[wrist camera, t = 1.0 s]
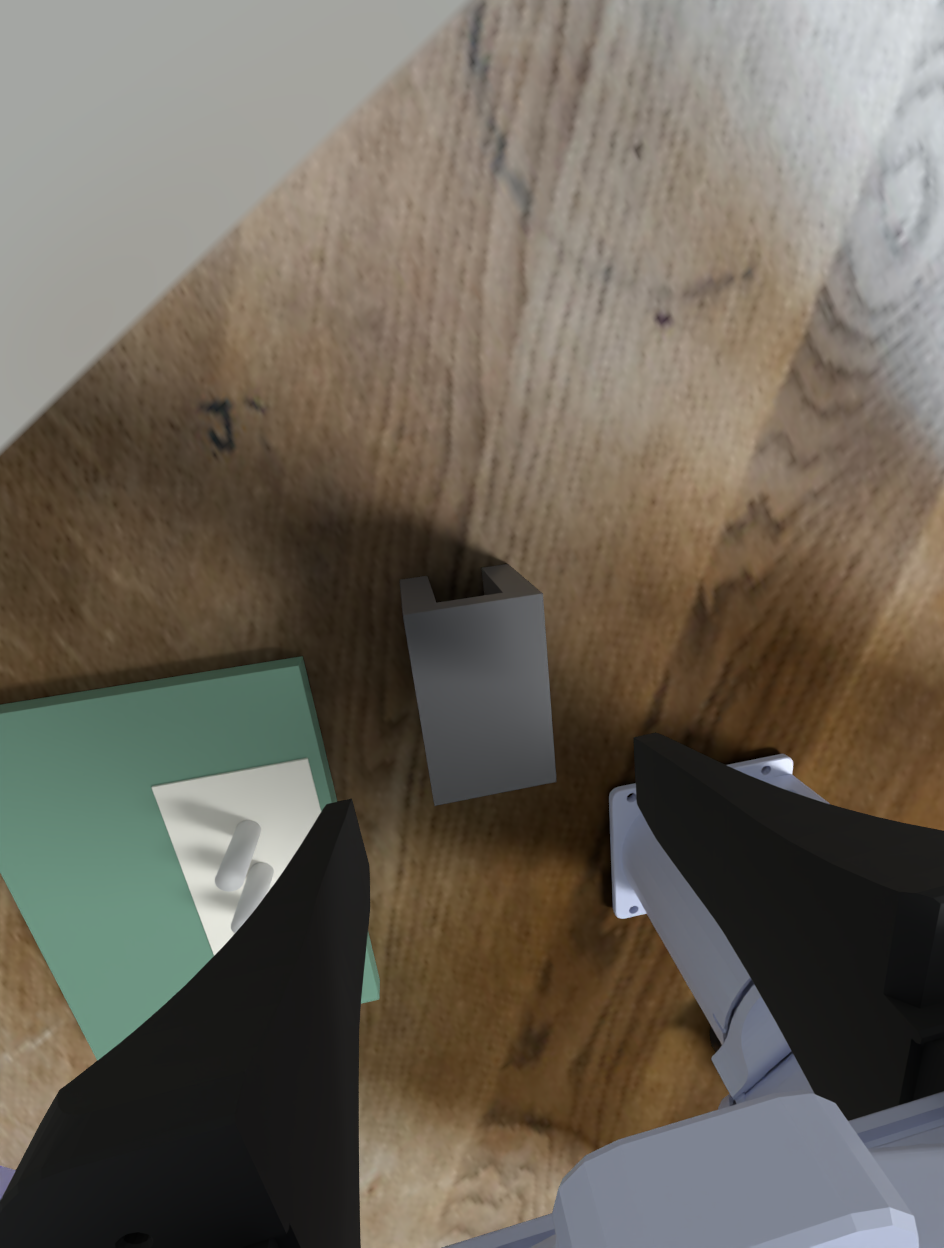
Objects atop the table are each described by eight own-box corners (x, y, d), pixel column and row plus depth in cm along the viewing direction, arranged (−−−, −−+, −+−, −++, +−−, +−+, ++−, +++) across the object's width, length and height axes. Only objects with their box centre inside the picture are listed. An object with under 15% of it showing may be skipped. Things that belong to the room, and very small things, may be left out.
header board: (302, 656, 20) (284, 697, 17) (379, 979, 26) (378, 1061, 23) (-53, 713, 19) (-155, 771, 15) (110, 1042, 25) (63, 1140, 21)
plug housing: (507, 563, 21) (542, 593, 16) (522, 716, 23) (556, 781, 18) (399, 579, 20) (402, 615, 16) (424, 733, 22) (434, 805, 18)
